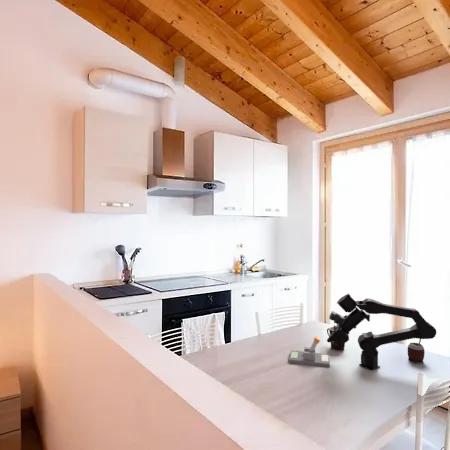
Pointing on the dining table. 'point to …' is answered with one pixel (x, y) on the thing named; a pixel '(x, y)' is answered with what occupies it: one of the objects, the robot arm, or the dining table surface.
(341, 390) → the dining table surface
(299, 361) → the switch panel
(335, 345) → the coffee mug
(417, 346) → the mate gourd
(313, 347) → the lever
